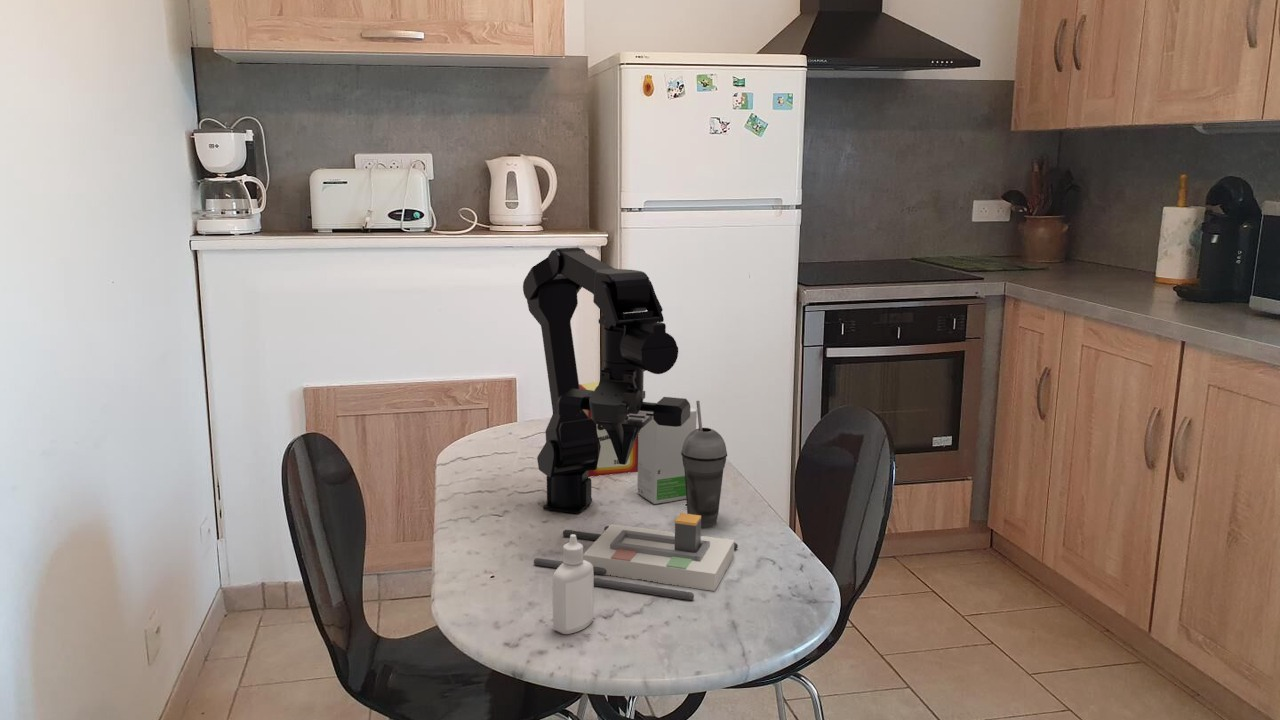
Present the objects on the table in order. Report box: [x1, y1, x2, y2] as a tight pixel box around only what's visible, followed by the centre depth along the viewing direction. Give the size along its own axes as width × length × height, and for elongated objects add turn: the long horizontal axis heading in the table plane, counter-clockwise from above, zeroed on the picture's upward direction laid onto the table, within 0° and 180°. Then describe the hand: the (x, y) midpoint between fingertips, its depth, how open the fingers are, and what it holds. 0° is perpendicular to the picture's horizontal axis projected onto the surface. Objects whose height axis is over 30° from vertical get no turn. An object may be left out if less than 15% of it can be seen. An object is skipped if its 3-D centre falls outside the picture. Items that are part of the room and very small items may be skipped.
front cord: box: [533, 557, 695, 601], centre depth 134 cm, size 24×4×1 cm, turn 72°
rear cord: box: [562, 525, 739, 550], centre depth 147 cm, size 26×4×1 cm, turn 72°
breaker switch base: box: [583, 523, 735, 592], centre depth 140 cm, size 19×12×3 cm, turn 72°
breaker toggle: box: [674, 512, 702, 553], centre depth 138 cm, size 3×3×5 cm
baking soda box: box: [579, 381, 639, 478], centre depth 179 cm, size 10×6×16 cm
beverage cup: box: [681, 400, 728, 529], centre depth 153 cm, size 7×7×20 cm
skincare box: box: [636, 407, 698, 505], centre depth 165 cm, size 8×7×16 cm
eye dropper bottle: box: [552, 534, 595, 635], centre depth 121 cm, size 4×6×12 cm
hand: (623, 463), depth 143 cm, fingers closed
